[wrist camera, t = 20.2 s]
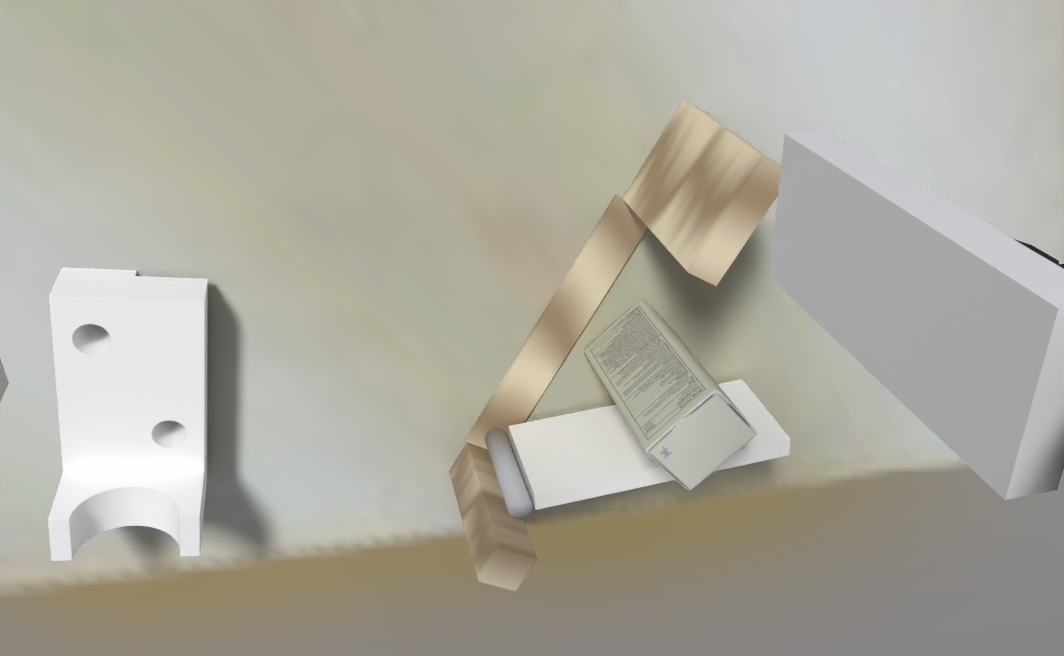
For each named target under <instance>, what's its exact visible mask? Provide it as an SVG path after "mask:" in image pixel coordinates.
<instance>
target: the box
mask: <svg viewBox="0 0 1064 656" xmlns="http://www.w3.org/2000/svg"><path fill="white" fill-rule="evenodd" d="M584 354H585V356H586V357H587V359H588V361H589V362H590V364H591V365H592V367H593V369H594V370H595V372H596V374H597V375H598V377H599V378H600V380H601V381H602V383H603V384H604V386H605V388H606V389H607V391H608V392H609V394H610V396H611V397H612V399H613V401H614V402H615V404H616V406H617V407H618V409H619V410H620V412H621V414H622V415H623V417H624V418H625V420H626V422H627V423H628V425H629V427H630V428H631V430H632V431H633V433H634V435H635V436H636V438H637V440H638V441H639V443H640V445H641V446H642V448H643V450H644V451H645V453H646V454H647V455H649V456H650V457H651V458H652V459H653V460H654V461H655V462H656V463H657V464H658V465H659V466H660V467H661V468H662V469H663V470H665V471H666V472H667V473H668V474H669V475H670V476H671V477H672V478H674V479H675V480H676V481H677V482H678V483H680V484H681V485H682V486H683V487H684V488H686V489H687V490H689V491H690V490H692V489H693V488H695V487H696V486H697V485H698V484H700V483H701V482H702V481H703V480H704V479H706V478H707V477H708V476H709V475H710V474H712V473H713V472H714V471H715V470H716V469H718V468H719V467H720V466H721V465H722V464H724V463H725V462H726V461H727V460H728V459H729V458H731V457H732V456H733V455H734V454H735V453H736V452H738V451H739V450H740V449H741V448H742V447H743V446H744V445H746V444H747V443H748V442H749V441H750V440H751V439H753V438H754V437H755V436H756V435H757V432H756V431H755V429H754V428H753V427H752V425H751V424H750V423H749V422H748V420H747V419H746V418H745V417H744V416H743V414H742V413H741V412H740V411H739V409H738V408H737V407H736V406H735V405H734V403H733V402H732V401H731V400H730V399H729V397H728V396H727V395H726V394H725V392H724V391H723V390H722V389H721V388H720V386H719V385H718V384H717V383H716V382H715V380H714V379H713V378H712V377H711V375H710V374H709V373H708V372H707V371H706V369H705V368H704V367H703V366H702V365H701V363H700V362H699V361H698V360H697V358H696V357H695V356H694V355H693V353H692V352H691V351H690V350H689V348H688V347H687V346H686V345H685V344H684V342H683V341H682V340H681V339H680V338H679V336H678V335H677V334H676V333H675V332H674V331H673V330H672V328H671V327H670V326H669V325H668V324H667V323H666V322H665V321H664V319H663V318H662V317H661V316H660V315H659V314H658V313H657V312H656V311H655V310H654V309H653V308H652V307H651V306H650V305H649V304H648V303H647V302H646V301H645V300H641V301H640V302H638V303H637V304H636V305H635V306H634V307H632V308H631V309H630V310H629V311H628V312H626V313H625V314H624V315H623V316H622V317H621V318H620V319H618V320H617V321H616V322H615V323H614V324H613V325H612V326H611V327H610V328H609V329H608V330H606V331H605V332H604V333H603V334H602V335H601V336H600V337H599V338H598V339H597V340H596V341H595V342H594V343H592V344H591V345H590V346H589V347H588V348H587V349H586V350H585V351H584Z"/></svg>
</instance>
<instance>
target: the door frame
mask: <svg viewBox="0 0 1064 656" xmlns="http://www.w3.org/2000/svg"><path fill="white" fill-rule="evenodd" d="M780 173H781V165H780V164H779V163H777V162H776V161H774V160H773V159H772V158H770V157H769V156H767V155H766V154H765V153H763V152H762V151H760V150H759V149H758V148H756V147H755V146H753V145H752V144H750V143H749V142H748V141H746V140H745V139H743V138H742V137H741V136H739V135H738V134H736V133H735V132H734V131H732V130H731V129H729V128H728V127H727V126H725V125H724V124H722V123H721V122H720V121H718V120H717V119H715V118H714V117H713V116H711V115H710V114H708V113H707V112H705V111H703V110H702V109H700V108H698V107H696V106H695V105H693V104H691V103H690V102H688V101H686V100H685V99H684V100H683V101H682V103H681V105H680V106H679V108H678V109H677V111H676V113H675V114H674V116H673V118H672V119H671V121H670V122H669V124H668V126H667V127H666V129H665V131H664V132H663V134H662V135H661V137H660V139H659V140H658V142H657V144H656V145H655V147H654V148H653V150H652V152H651V153H650V155H649V157H648V158H647V160H646V161H645V163H644V165H643V166H642V168H641V170H640V171H639V173H638V174H637V176H636V178H635V179H634V181H633V182H632V184H631V186H630V187H629V189H628V191H627V192H626V194H625V195H624V197H623V199H622V198H620V197H619V196H617V195H615V197H614V198H613V200H612V202H611V203H610V205H609V207H608V208H607V210H606V211H605V213H604V215H603V216H602V218H601V220H600V221H599V223H598V224H597V226H596V228H595V229H594V231H593V233H592V234H591V236H590V238H589V239H588V241H587V242H586V244H585V246H584V247H583V249H582V251H581V252H580V254H579V255H578V257H577V259H576V260H575V262H574V264H573V265H572V267H571V269H570V270H569V272H568V273H567V275H566V277H565V278H564V280H563V282H562V283H561V285H560V286H559V288H558V290H557V291H556V293H555V295H554V296H553V298H552V300H551V301H550V303H549V304H548V306H547V308H546V309H545V311H544V313H543V314H542V316H541V317H540V319H539V321H538V322H537V324H536V326H535V327H534V329H533V331H532V332H531V334H530V335H529V337H528V339H527V340H526V342H525V344H524V345H523V347H522V348H521V350H520V352H519V353H518V355H517V357H516V358H515V360H514V362H513V363H512V365H511V366H510V368H509V370H508V371H507V373H506V375H505V376H504V378H503V379H502V381H501V383H500V384H499V386H498V388H497V389H496V391H495V393H494V394H493V396H492V397H491V399H490V401H489V402H488V404H487V406H486V407H485V409H484V410H483V412H482V414H481V415H480V417H479V419H478V420H477V422H476V424H475V425H474V427H473V428H472V430H471V432H470V433H469V435H468V437H467V438H466V440H465V441H466V442H467V444H466V445H465V447H464V449H463V450H462V452H461V453H460V455H459V457H458V458H457V460H456V462H455V463H454V465H453V466H452V468H451V470H450V471H449V472H450V476H451V480H452V483H453V487H454V491H455V495H456V498H457V502H458V506H459V510H460V513H461V517H462V521H463V525H464V529H465V532H466V536H467V540H468V544H469V547H470V551H471V555H472V558H473V562H474V566H475V569H476V573H477V577H478V581H479V582H483V583H487V584H490V585H494V586H498V587H501V588H505V589H508V590H512V591H516V590H517V589H518V587H519V586H520V584H521V583H522V581H523V580H524V578H525V577H526V575H527V574H528V572H529V571H530V569H531V568H532V566H533V565H534V564H535V562H536V561H537V559H536V556H535V553H534V550H533V547H532V544H531V541H530V539H529V536H528V533H527V530H526V527H525V524H524V521H523V518H513V517H512V516H510V514H509V512H508V509H507V506H506V503H505V500H504V497H503V494H502V491H501V488H500V485H499V482H498V479H497V476H496V473H495V470H494V467H493V464H492V461H491V458H490V455H489V452H488V449H487V446H486V443H485V439H484V438H485V435H486V433H487V432H488V431H490V430H491V429H494V428H500V429H502V430H504V431H505V433H506V435H507V438H508V440H509V443H510V437H509V427H508V426H511V425H516V424H521V423H525V421H526V419H527V418H528V416H529V415H530V413H531V412H532V410H533V408H534V407H535V405H536V404H537V402H538V400H539V399H540V397H541V396H542V394H543V393H544V391H545V389H546V388H547V386H548V385H549V383H550V382H551V380H552V378H553V377H554V375H555V374H556V372H557V370H558V369H559V367H560V366H561V364H562V363H563V361H564V359H565V358H566V356H567V355H568V353H569V352H570V350H571V348H572V347H573V345H574V344H575V342H576V340H577V339H578V337H579V336H580V334H581V333H582V331H583V329H584V328H585V326H586V325H587V323H588V322H589V320H590V318H591V317H592V315H593V314H594V312H595V310H596V309H597V307H598V306H599V304H600V303H601V301H602V299H603V298H604V296H605V295H606V293H607V292H608V290H609V288H610V287H611V285H612V284H613V282H614V280H615V279H616V277H617V276H618V274H619V273H620V271H621V269H622V268H623V266H624V265H625V263H626V262H627V260H628V258H629V257H630V255H631V254H632V252H633V250H634V249H635V247H636V246H637V244H638V243H639V241H640V239H641V238H642V236H643V235H644V233H645V232H646V230H647V228H649V229H650V230H651V231H652V232H653V234H654V235H655V236H656V237H657V238H658V239H659V240H660V241H661V243H662V244H663V245H664V246H665V247H666V248H667V249H668V250H669V252H670V253H671V254H672V255H673V256H674V257H675V258H676V260H677V261H678V262H679V263H680V264H681V265H682V266H683V267H684V269H685V270H686V271H687V272H688V273H690V274H692V275H694V276H696V277H698V278H700V279H702V280H704V281H706V282H708V283H710V284H713V285H715V286H717V285H718V283H719V282H720V280H721V279H722V277H723V276H724V274H725V273H726V271H727V270H728V268H729V267H730V265H731V264H732V262H733V261H734V259H735V258H736V256H737V255H738V253H739V252H740V250H741V249H742V248H743V246H744V245H745V243H746V242H747V240H748V239H749V237H750V236H751V234H752V233H753V231H754V230H755V228H756V227H757V225H758V224H759V222H760V221H761V219H762V218H763V216H764V215H765V213H766V212H767V211H768V209H769V208H770V206H771V205H772V203H773V202H774V200H775V199H776V197H777V196H778V191H779V182H780ZM510 445H511V443H510Z"/></svg>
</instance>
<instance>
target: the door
mask: <svg viewBox="0 0 1064 656" xmlns="http://www.w3.org/2000/svg"><path fill="white" fill-rule="evenodd" d="M718 385H719V386H720V388H721V389H722V390H723V391H724V392H725V394H726V395H727V396H728V397H729V399H730V400H731V401H732V402H733V403H734V405H735V406H736V407H737V408H738V409H739V411H740V412H741V413H742V414H743V416H744V417H745V418H746V419H747V420H748V422H749V423H750V424H751V425H752V427H753V428H754V429H755V431H756V432H757V435H756V436H755V437H754V438H753V439H751V440H750V441H749V442H748V443H747V444H746V445H744V446H743V447H742V448H741V449H740V450H739V451H738V452H736V453H735V454H734V455H733V456H732V457H731V458H729V459H728V460H727V461H726V462H725V463H724V464H722V465H721V466H720V467H719V468H718V469H716V470H715V471H718V470H723V469H728V468H732V467H737V466H742V465H746V464H751V463H755V462H760V461H765V460H769V459H774V458H779V457H783V456H788V455H789V452H790V438H789V436H788V435H787V434H786V433H785V432H784V430H783V429H782V428H781V427H780V425H779V424H778V423H777V422H776V421H775V419H774V418H773V417H772V416H771V414H770V413H769V412H768V411H767V409H766V408H765V407H764V406H763V405H762V403H761V402H760V401H759V400H758V398H757V397H756V396H755V395H754V394H753V392H752V391H751V390H750V389H749V387H748V386H747V385H746V384H745V382H744V381H743V380H742V379H741V380H736V381H731V382H726V383H721V384H718ZM508 427H509V437H510V443H511V446H512V448H513V451H514V454H515V456H516V459H517V462H518V464H519V467H520V470H521V472H522V475H523V478H524V480H525V483H526V486H527V488H528V491H529V494H530V496H531V499H532V502H533V505H534V507H535V510H538V509H543V508H547V507H552V506H557V505H561V504H566V503H570V502H575V501H580V500H584V499H589V498H594V497H598V496H603V495H607V494H612V493H617V492H621V491H626V490H631V489H635V488H640V487H644V486H649V485H654V484H658V483H663V482H668V481H672V480H675V479H674V478H672V477H671V476H670V475H669V474H668V473H667V472H666V471H665V470H663V469H662V468H661V467H660V466H659V465H658V464H657V463H656V462H655V461H654V460H653V459H652V458H651V457H650V456H649V455H647V454H646V453H645V451H644V450H643V448H642V446H641V445H640V443H639V441H638V440H637V438H636V436H635V435H634V433H633V431H632V430H631V428H630V427H629V425H628V423H627V422H626V420H625V418H624V417H623V415H622V414H621V412H620V410H619V409H618V407H617V406H616V405H611V406H606V407H601V408H596V409H591V410H586V411H581V412H576V413H571V414H566V415H561V416H556V417H551V418H546V419H541V420H536V421H531V422H526V423H521V424H516V425H511V426H508ZM484 439H485V443H486V446H487V449H488V452H489V455H490V458H491V461H492V464H493V467H494V470H495V473H496V476H497V479H498V482H499V485H500V488H501V491H502V494H503V497H504V500H505V503H506V506H507V509H508V512H509V514H510V516H512V517H513V518H524V517H526V516H527V515H529V514H530V513H531V511H532V508H533V505H532V502H531V500H530V497H529V494H528V491H527V489H526V486H525V483H524V481H523V478H522V475H521V473H520V470H519V467H518V465H517V462H516V459H515V456H514V454H513V451H512V448H511V446H510V443H509V440H508V438H507V435H506V433H505V431H504V430H502V429H500V428H494V429H491V430H490V431H488V432H487V433H486V435H485V438H484Z"/></svg>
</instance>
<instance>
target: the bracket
mask: <svg viewBox="0 0 1064 656" xmlns="http://www.w3.org/2000/svg"><path fill="white" fill-rule="evenodd" d="M49 300H50V313H51V325H52V338H53V350H54V363H55V375H56V387H57V400H58V412H59V425H60V437H61V450H62V462H63V474H62V477H61V480H60V484H59V487H58V490H57V493H56V496H55V499H54V503H53V506H52V509H51V512H50V515H49V518H48V526H49V537H50V548H51V559H52V561H62V560H72V559H73V556H74V554H75V552H76V551H77V550H78V548H79V547H80V546H81V545H82V544H83V543H84V542H86V541H87V540H88V539H90V538H92V537H93V536H95V535H97V534H99V533H101V532H104V531H107V530H110V529H113V528H118V527H123V526H148V527H153V528H157V529H160V530H162V531H164V532H166V533H168V534H169V535H171V536H172V537H173V538H174V539H175V540H176V541H177V543H178V545H179V547H180V556H200V546H201V536H202V526H203V516H204V505H205V495H206V485H207V303H208V279H193V278H169V277H144V276H137V271H133V270H109V269H85V268H62V269H61V271H60V273H59V275H58V277H57V280H56V282H55V284H54V286H53V288H52V291H51V293H50V295H49ZM169 420H171V421H169Z"/></svg>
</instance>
